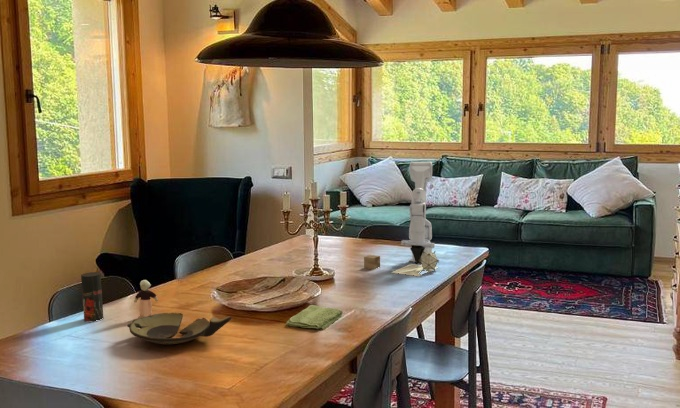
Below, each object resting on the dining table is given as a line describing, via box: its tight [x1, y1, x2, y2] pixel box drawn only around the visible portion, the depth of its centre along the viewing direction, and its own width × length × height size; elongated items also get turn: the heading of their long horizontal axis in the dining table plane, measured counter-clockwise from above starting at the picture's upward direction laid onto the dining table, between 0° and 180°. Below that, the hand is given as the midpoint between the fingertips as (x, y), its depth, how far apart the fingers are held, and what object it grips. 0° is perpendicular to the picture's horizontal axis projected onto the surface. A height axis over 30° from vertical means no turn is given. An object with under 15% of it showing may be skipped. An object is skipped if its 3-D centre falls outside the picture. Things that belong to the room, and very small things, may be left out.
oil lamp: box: [126, 312, 233, 346], centre depth 194 cm, size 22×30×8 cm
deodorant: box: [80, 271, 104, 322], centre depth 216 cm, size 6×6×15 cm
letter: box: [391, 263, 439, 277], centre depth 278 cm, size 18×13×1 cm
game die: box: [419, 250, 440, 272], centre depth 276 cm, size 9×8×10 cm
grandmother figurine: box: [133, 279, 159, 319], centre depth 217 cm, size 8×4×13 cm, turn 105°
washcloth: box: [285, 304, 343, 331], centre depth 212 cm, size 13×18×3 cm
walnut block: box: [363, 254, 381, 270], centre depth 284 cm, size 5×5×5 cm
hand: (417, 263), depth 280 cm, fingers closed
